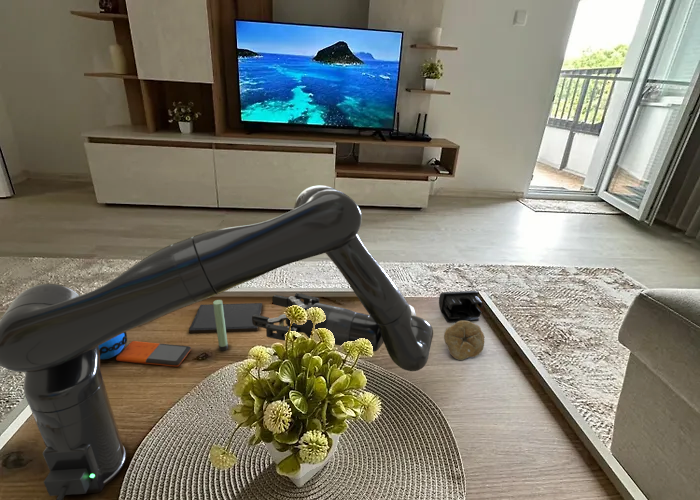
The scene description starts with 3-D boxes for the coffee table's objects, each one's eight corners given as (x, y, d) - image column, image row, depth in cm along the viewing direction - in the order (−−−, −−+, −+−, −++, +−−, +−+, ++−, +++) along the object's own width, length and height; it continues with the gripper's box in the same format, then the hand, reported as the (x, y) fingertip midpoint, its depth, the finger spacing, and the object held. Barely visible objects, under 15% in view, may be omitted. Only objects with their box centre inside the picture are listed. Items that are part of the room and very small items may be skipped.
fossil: (439, 328, 95) (474, 314, 97) (434, 332, 99) (468, 318, 101) (456, 364, 92) (492, 348, 94) (450, 366, 96) (485, 351, 98)
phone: (131, 339, 95) (191, 345, 94) (133, 344, 96) (192, 349, 94) (114, 357, 89) (177, 363, 88) (115, 361, 90) (178, 368, 88)
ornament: (80, 369, 87) (68, 331, 83) (98, 344, 95) (88, 309, 91) (121, 366, 88) (112, 329, 84) (135, 342, 96) (127, 307, 92)
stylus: (227, 350, 94) (221, 304, 89) (218, 351, 94) (212, 304, 89) (228, 345, 96) (223, 299, 91) (220, 345, 96) (214, 299, 91)
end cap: (470, 307, 115) (473, 286, 112) (480, 320, 109) (485, 299, 106) (437, 308, 114) (440, 288, 111) (446, 323, 107) (449, 301, 104)
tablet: (257, 331, 102) (257, 327, 101) (189, 333, 100) (188, 329, 100) (262, 305, 113) (262, 302, 112) (201, 307, 111) (200, 304, 111)
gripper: (345, 292, 86) (278, 279, 91) (320, 328, 74) (244, 311, 78) (344, 321, 89) (279, 307, 94) (319, 360, 77) (246, 342, 81)
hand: (263, 308), depth 86 cm, fingers open, 8 cm apart
